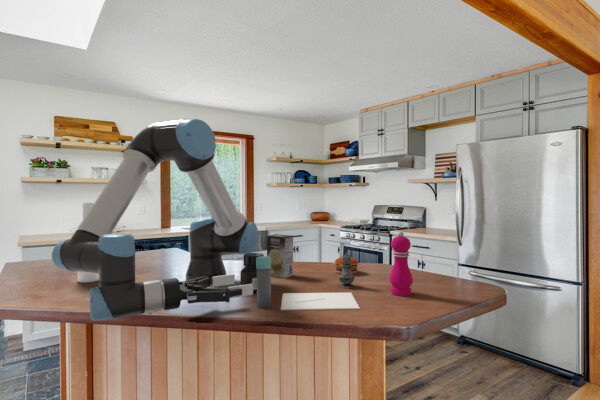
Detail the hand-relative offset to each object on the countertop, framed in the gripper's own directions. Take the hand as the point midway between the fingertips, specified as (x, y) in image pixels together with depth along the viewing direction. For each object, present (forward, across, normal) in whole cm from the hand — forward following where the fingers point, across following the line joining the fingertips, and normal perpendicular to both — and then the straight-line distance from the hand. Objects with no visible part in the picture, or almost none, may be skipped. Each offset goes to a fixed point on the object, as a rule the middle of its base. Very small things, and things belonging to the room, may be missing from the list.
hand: (242, 283), depth 99 cm
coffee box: (+28, -33, -8) cm, 44 cm away
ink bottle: (+11, -18, -8) cm, 23 cm away
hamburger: (+54, -23, -8) cm, 59 cm away
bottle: (-37, -66, -8) cm, 76 cm away
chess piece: (+40, -5, -8) cm, 41 cm away
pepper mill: (+49, +11, -8) cm, 51 cm away
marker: (+7, 0, -7) cm, 10 cm away
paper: (+22, +4, -7) cm, 24 cm away
